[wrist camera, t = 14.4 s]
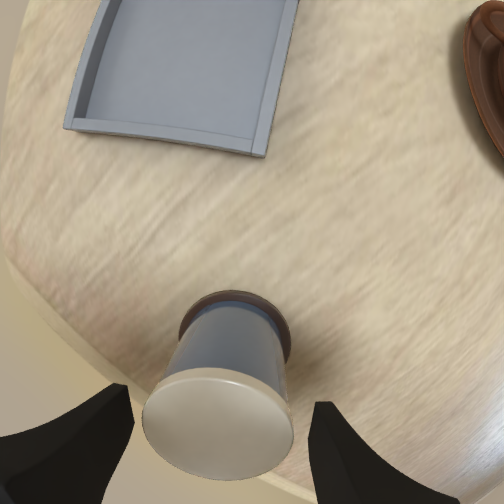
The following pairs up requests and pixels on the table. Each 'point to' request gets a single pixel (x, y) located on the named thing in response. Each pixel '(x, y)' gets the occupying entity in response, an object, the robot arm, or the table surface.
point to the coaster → (245, 298)
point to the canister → (223, 396)
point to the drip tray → (184, 71)
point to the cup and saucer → (487, 66)
